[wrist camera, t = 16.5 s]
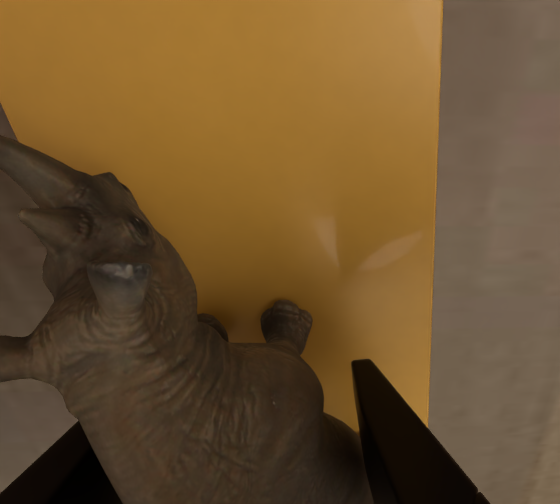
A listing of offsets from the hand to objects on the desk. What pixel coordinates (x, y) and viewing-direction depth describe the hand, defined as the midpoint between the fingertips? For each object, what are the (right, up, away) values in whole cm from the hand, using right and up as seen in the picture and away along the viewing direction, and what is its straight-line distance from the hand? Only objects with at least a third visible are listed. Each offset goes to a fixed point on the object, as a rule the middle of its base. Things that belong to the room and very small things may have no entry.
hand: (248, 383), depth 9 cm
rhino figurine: (0, +1, +2) cm, 2 cm away
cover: (0, +1, +2) cm, 3 cm away
